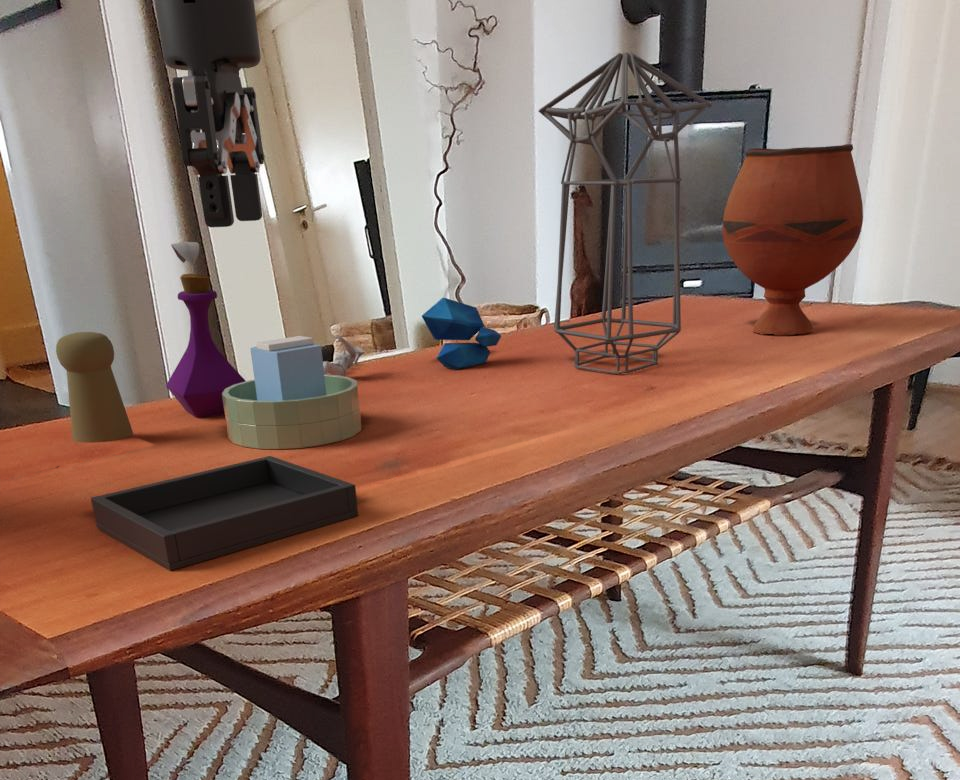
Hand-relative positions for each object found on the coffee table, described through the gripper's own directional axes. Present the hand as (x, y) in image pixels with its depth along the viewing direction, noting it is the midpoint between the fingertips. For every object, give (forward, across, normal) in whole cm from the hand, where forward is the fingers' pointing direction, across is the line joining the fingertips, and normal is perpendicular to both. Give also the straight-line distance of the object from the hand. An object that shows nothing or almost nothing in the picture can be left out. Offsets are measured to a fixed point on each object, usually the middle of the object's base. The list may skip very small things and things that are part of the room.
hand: (235, 223), depth 82 cm
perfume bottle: (+20, -18, -11) cm, 30 cm away
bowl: (+20, -8, +1) cm, 22 cm away
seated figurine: (+21, -35, -1) cm, 40 cm away
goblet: (+21, -66, +61) cm, 93 cm away
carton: (+20, -8, +1) cm, 21 cm away
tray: (+20, +18, +2) cm, 27 cm away
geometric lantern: (+21, -42, +35) cm, 58 cm away
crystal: (+21, -45, +15) cm, 52 cm away
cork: (+20, -6, -18) cm, 28 cm away
